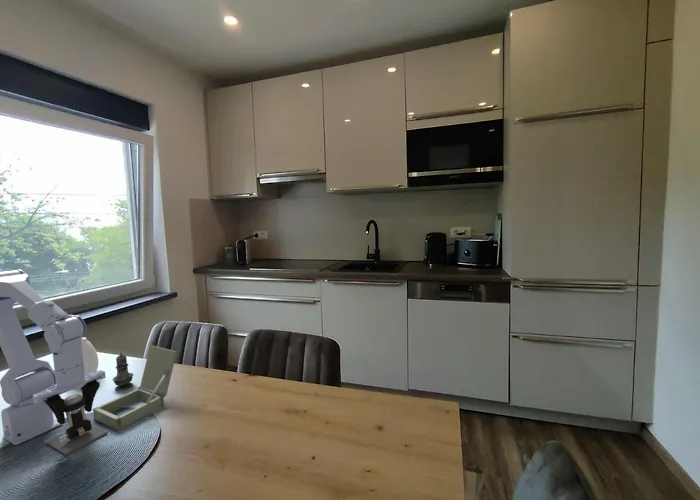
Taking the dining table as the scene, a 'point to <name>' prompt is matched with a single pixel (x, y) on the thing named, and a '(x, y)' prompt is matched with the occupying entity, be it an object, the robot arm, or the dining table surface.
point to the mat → (76, 440)
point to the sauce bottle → (89, 356)
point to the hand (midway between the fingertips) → (75, 416)
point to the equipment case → (142, 391)
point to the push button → (75, 416)
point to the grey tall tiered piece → (122, 374)
